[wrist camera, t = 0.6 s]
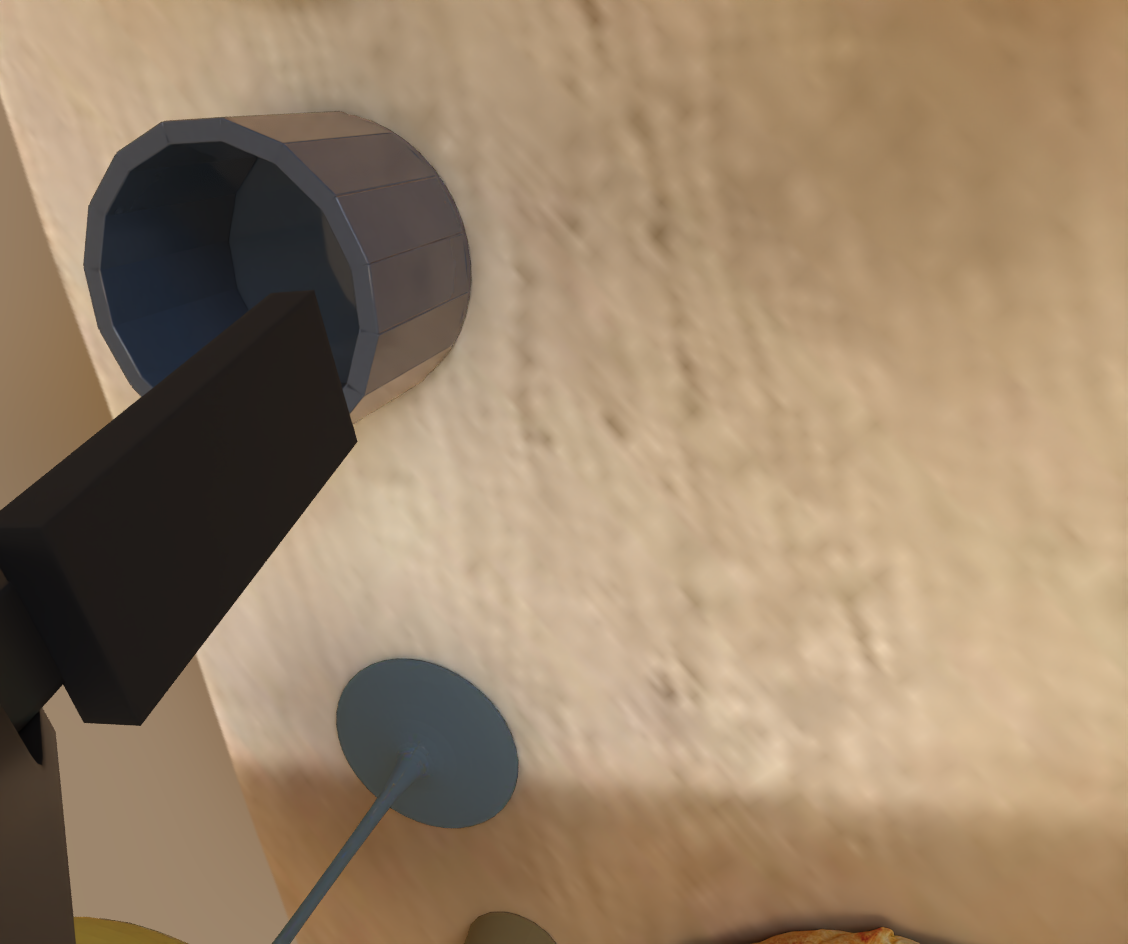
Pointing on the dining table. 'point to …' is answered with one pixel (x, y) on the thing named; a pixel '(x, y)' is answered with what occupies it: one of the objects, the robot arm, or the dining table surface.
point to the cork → (506, 930)
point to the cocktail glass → (396, 768)
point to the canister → (278, 245)
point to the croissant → (838, 937)
